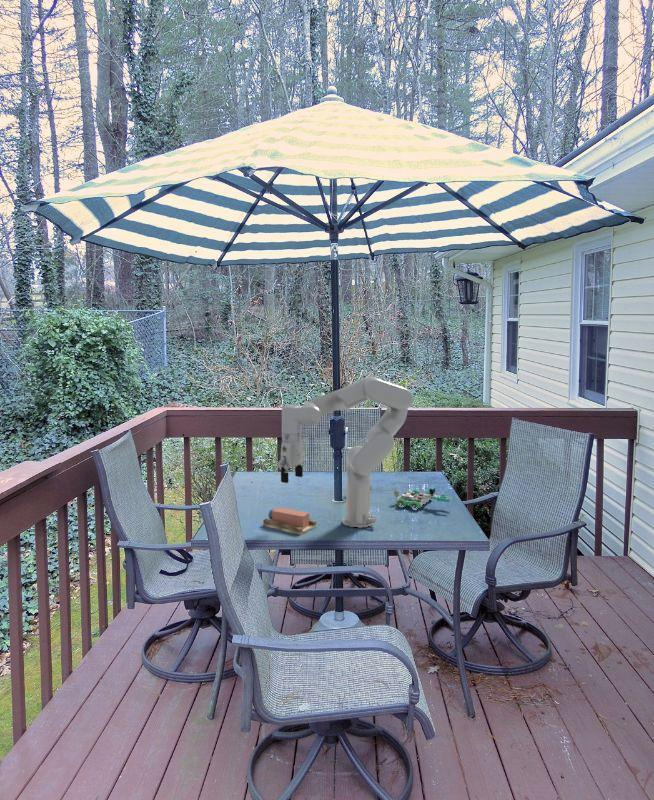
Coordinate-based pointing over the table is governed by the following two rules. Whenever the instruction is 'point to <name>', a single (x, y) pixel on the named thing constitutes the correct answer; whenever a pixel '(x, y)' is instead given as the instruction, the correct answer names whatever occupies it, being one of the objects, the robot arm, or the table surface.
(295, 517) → the salmon rectangular block
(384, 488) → the table surface
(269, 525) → the cradle
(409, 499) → the robot kit
